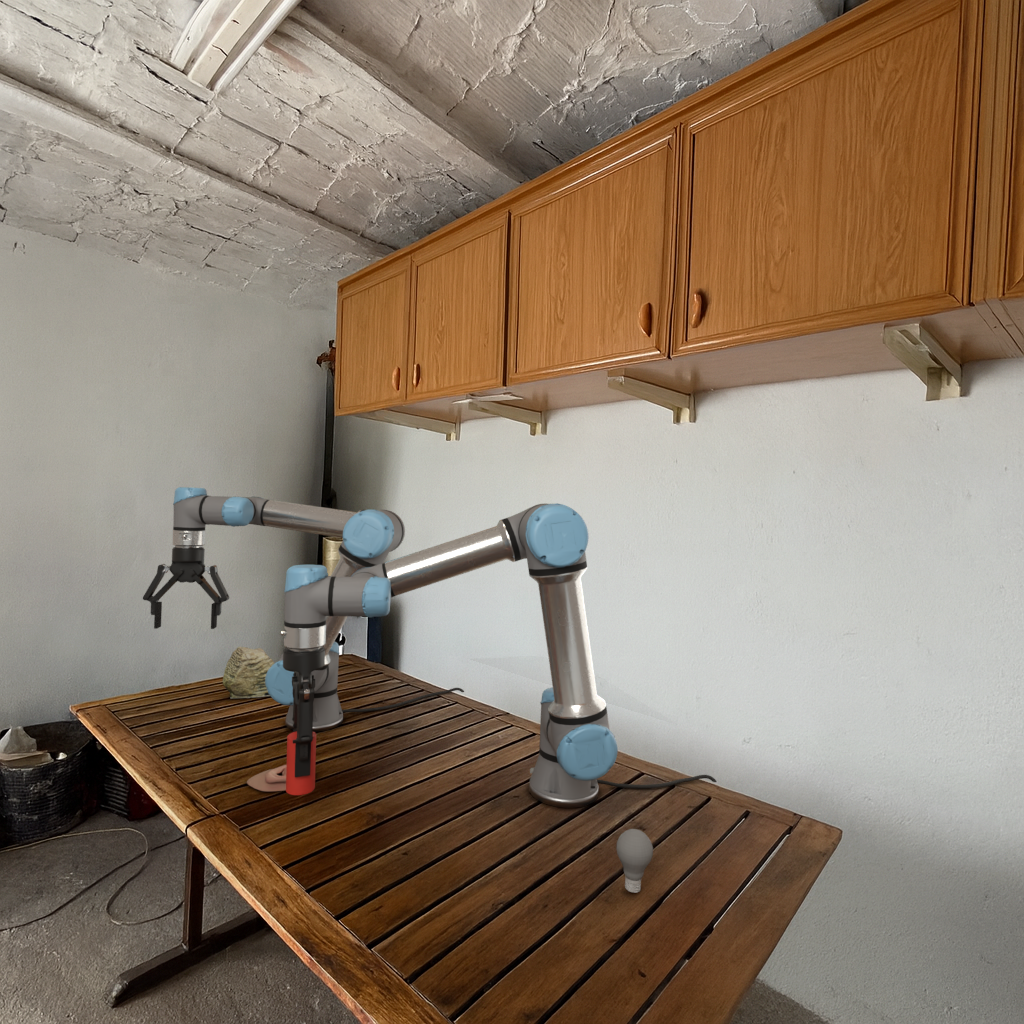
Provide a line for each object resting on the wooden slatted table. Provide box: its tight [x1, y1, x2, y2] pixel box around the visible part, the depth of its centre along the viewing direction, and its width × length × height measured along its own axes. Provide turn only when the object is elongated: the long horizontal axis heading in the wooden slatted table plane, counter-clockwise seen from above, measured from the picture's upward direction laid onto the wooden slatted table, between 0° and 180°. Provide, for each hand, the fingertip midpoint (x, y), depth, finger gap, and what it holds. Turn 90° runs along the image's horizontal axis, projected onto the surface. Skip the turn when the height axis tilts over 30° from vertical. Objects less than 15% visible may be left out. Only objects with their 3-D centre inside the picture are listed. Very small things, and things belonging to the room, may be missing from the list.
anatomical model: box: [246, 763, 287, 792], centre depth 140 cm, size 13×4×12 cm
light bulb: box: [615, 828, 654, 894], centre depth 106 cm, size 6×6×10 cm
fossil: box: [222, 646, 275, 699], centre depth 198 cm, size 9×18×15 cm, turn 132°
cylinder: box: [285, 731, 317, 796], centre depth 120 cm, size 5×5×10 cm
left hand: (185, 627), depth 165 cm, fingers open, 13 cm apart
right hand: (301, 768), depth 120 cm, fingers closed on cylinder, 5 cm apart
